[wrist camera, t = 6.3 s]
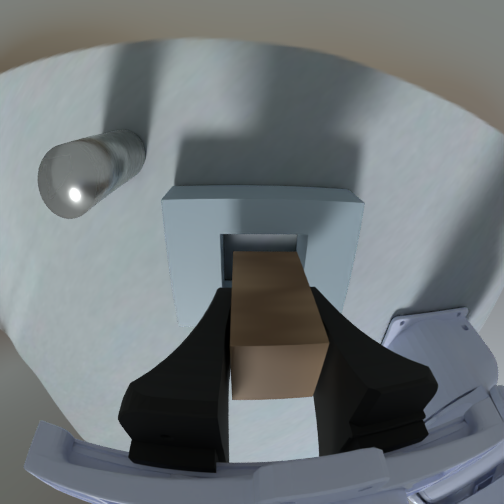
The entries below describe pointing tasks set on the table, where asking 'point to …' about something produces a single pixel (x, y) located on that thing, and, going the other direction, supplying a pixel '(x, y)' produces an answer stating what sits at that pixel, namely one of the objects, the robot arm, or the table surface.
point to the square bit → (274, 328)
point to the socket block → (257, 222)
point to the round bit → (88, 171)
